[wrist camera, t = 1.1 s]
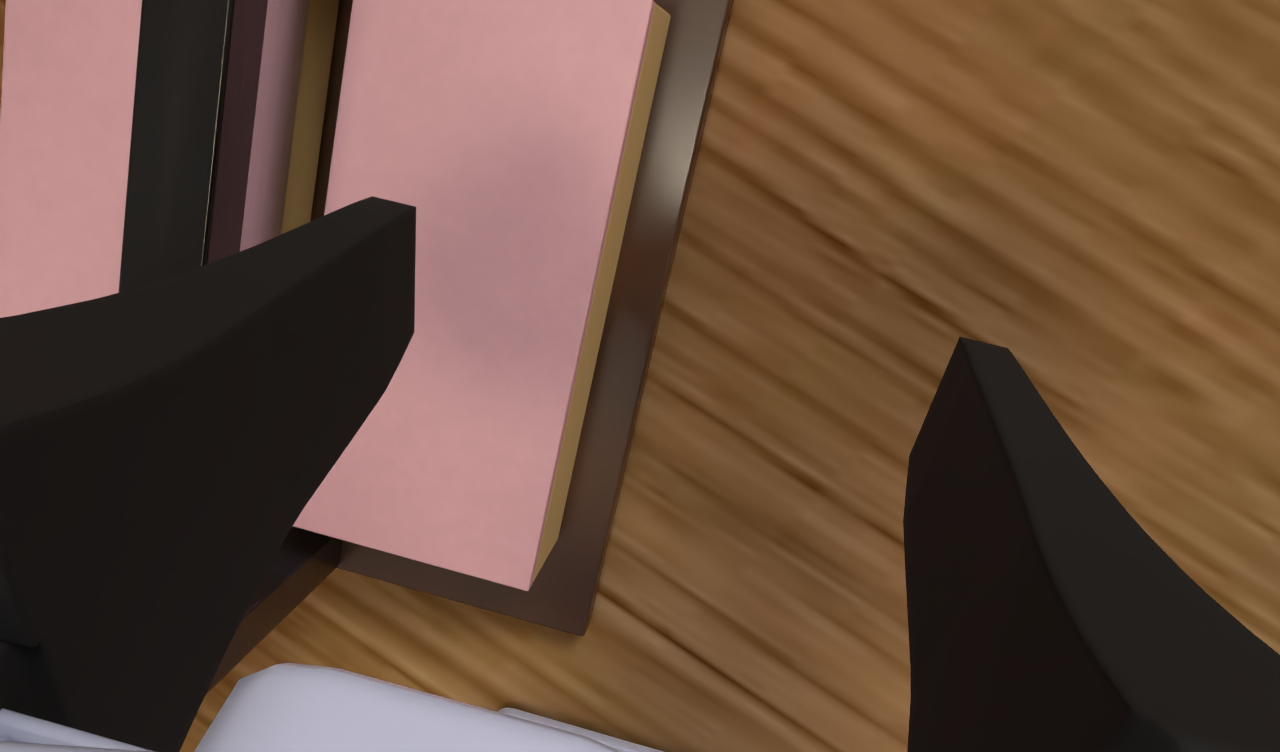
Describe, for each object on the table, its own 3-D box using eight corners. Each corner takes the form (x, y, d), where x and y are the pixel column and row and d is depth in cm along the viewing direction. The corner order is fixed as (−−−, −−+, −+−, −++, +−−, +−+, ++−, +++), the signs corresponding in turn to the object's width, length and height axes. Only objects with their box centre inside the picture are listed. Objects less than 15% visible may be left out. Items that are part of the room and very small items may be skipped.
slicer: (589, 623, 28) (519, 793, 21) (44, 471, 29) (-192, 582, 22) (754, -88, 23) (733, -178, 16) (88, -229, 24) (-198, -368, 17)
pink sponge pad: (558, 540, 26) (528, 592, 23) (70, 407, 27) (-16, 441, 25) (671, 14, 23) (652, -1, 20) (106, -112, 24) (11, -144, 21)
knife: (270, 550, 24) (167, 635, 20) (205, 533, 24) (90, 613, 20) (355, -98, 20) (248, -148, 16) (277, -114, 20) (153, -169, 16)
